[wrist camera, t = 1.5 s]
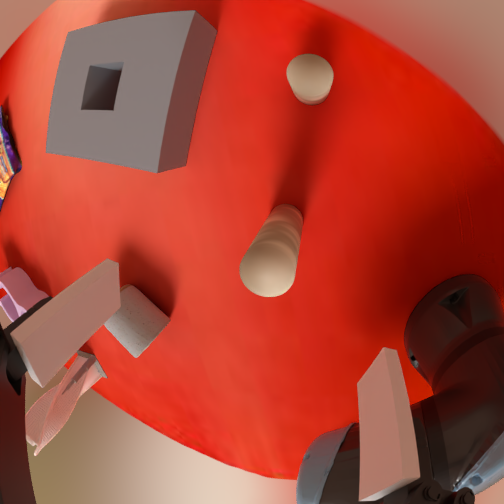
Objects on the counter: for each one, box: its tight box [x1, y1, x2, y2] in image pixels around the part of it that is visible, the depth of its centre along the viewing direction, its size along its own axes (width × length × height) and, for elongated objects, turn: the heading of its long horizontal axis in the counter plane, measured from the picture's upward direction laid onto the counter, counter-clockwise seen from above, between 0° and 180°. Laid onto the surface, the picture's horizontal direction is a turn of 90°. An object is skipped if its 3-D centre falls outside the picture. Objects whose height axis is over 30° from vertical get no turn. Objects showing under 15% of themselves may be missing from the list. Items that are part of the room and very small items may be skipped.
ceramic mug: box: [104, 284, 170, 358], centre depth 35 cm, size 11×8×8 cm
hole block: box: [46, 10, 217, 173], centre depth 23 cm, size 18×16×6 cm
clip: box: [0, 267, 49, 322], centre depth 44 cm, size 20×12×7 cm, turn 75°
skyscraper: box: [25, 350, 108, 456], centre depth 38 cm, size 8×8×28 cm
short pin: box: [287, 54, 333, 105], centre depth 20 cm, size 4×4×6 cm
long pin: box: [240, 204, 303, 297], centre depth 23 cm, size 4×4×12 cm
